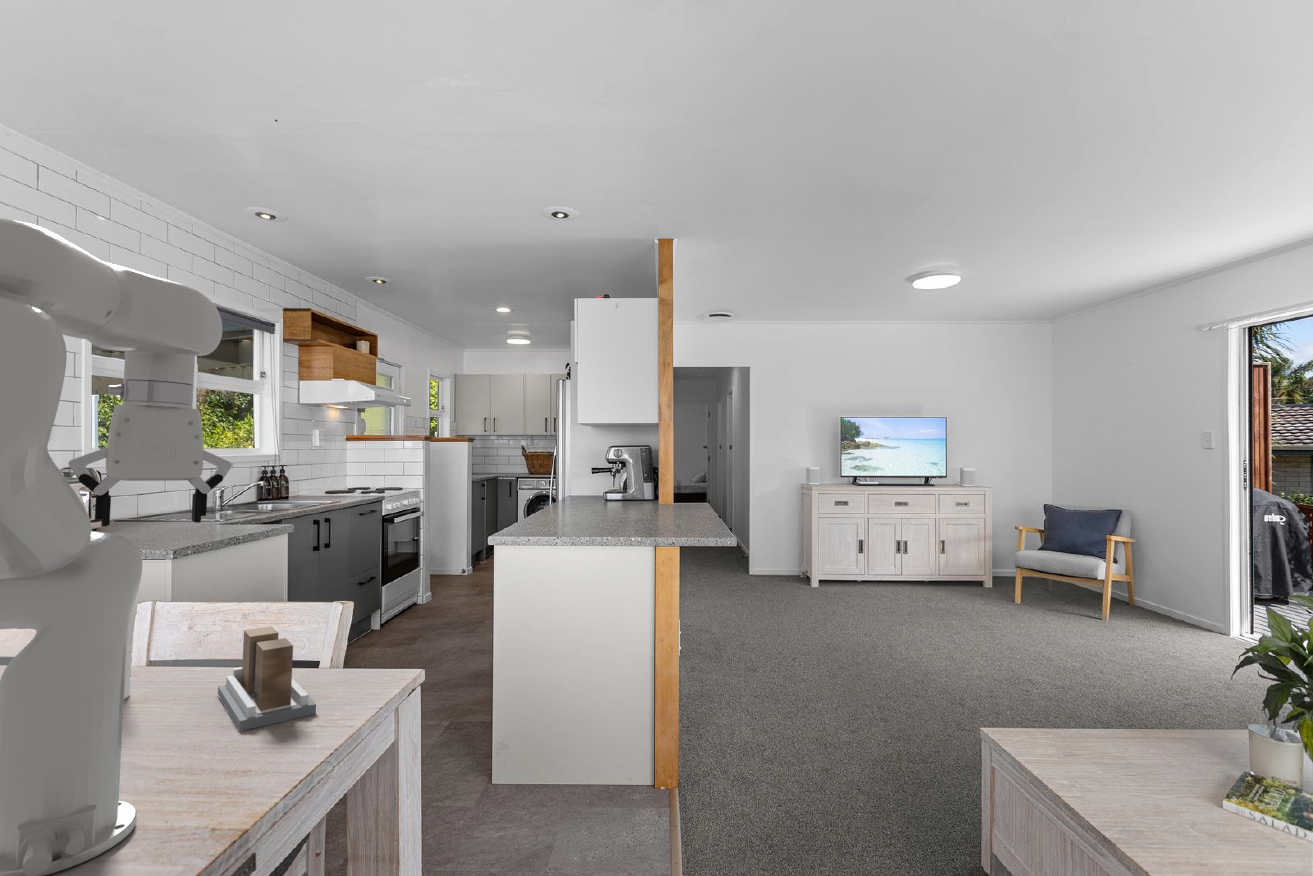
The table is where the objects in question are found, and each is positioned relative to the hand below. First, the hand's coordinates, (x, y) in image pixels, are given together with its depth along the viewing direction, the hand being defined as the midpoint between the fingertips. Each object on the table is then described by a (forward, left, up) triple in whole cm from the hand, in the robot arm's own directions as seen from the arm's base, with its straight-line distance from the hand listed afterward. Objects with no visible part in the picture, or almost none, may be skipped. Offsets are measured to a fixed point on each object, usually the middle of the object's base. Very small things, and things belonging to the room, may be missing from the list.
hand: (152, 523), depth 86 cm
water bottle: (+26, +4, -31) cm, 40 cm away
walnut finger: (+3, -16, -29) cm, 33 cm away
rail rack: (+8, -16, -30) cm, 35 cm away
